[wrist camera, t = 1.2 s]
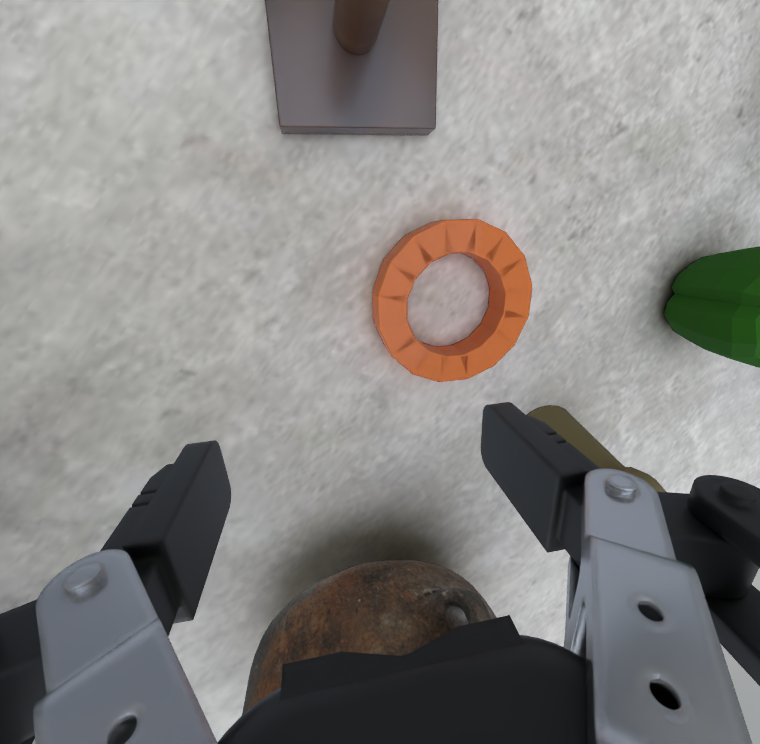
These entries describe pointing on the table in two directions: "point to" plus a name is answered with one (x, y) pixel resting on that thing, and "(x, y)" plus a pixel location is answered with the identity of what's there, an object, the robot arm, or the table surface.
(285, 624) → the jug
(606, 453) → the cork
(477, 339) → the orange ridged ring
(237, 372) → the table surface
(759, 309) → the bell pepper
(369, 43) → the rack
